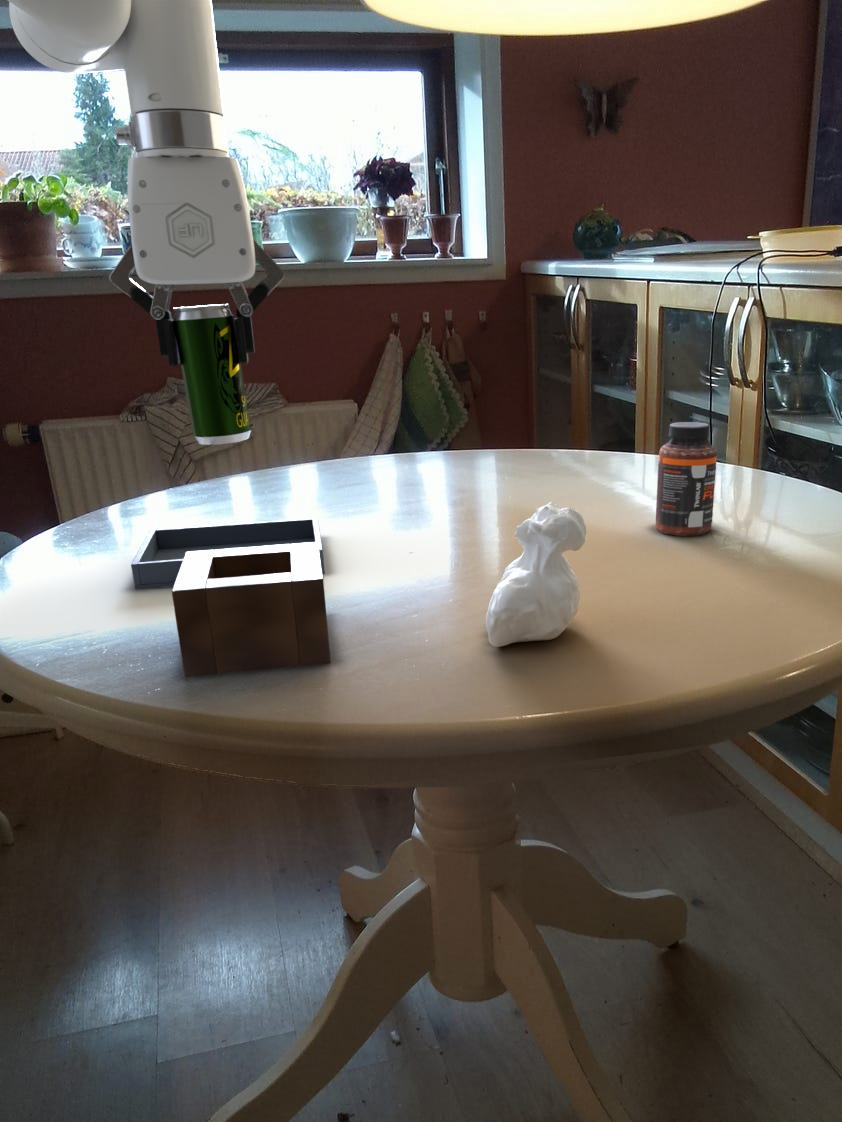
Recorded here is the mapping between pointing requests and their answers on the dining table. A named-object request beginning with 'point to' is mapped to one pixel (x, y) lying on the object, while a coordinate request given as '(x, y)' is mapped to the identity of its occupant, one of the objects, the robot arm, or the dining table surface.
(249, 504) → the dining table surface
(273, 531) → the tray
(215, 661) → the can holder
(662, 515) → the supplement bottle
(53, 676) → the dining table surface
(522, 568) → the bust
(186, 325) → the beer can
